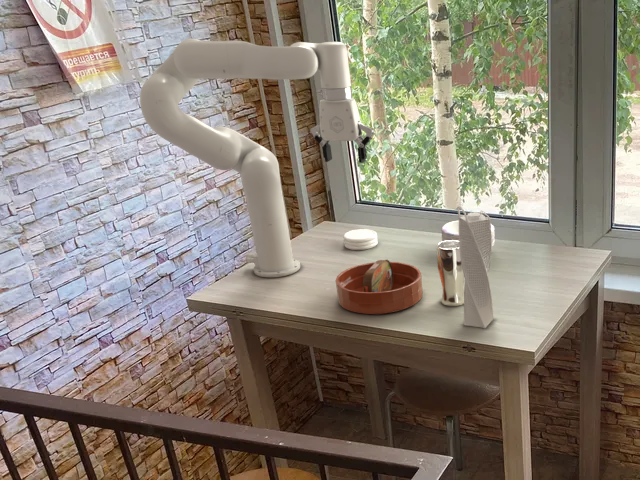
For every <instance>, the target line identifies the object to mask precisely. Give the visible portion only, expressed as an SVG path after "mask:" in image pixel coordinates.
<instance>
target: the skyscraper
mask: <svg viewBox="0 0 640 480" xmlns="http://www.w3.org/2000/svg"><path fill="white" fill-rule="evenodd" d="M456 209H457V216H458V220H459V249H460V258H461V264H462V269H463V274H464V304H463V326H468V327H475V328H483V329H487V327H488V326H489V324H491V323H492V322H493V321H494V319H495V318H494V317H495V316H494V308H493V298H492V297H493V296H492V289H491V284H490V279H489V272H490V267H491V261H492V260H491V259H492V251H493V249H492V248H493V246H492V234H491V224H492V222H491V217H490V216H489V215H488V214H487V213H486V212H485V211H484V210H480V211H479V212H477V211H473V212H469V213H466V211H465V210H464V208H463V207H461V206H460V205H457V207H456ZM461 211H462V213H463V215H461Z"/></svg>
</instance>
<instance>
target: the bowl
mask: <svg viewBox="0 0 640 480" xmlns="http://www.w3.org/2000/svg"><path fill="white" fill-rule="evenodd" d="M375 262H376V261H374V262H368V263H362V264H358V265H355V266H352V267H350V268H346V269H345V270H343V271H341V272H340V273H338V275H337V276H336V278H335V287H336V294H337V301H338V303H339V306H341V307H342V308H343V309H345V310H347V311H349V312H354V313H358V314H362V315H363V314H364V315H385V314H391V313H396V312H399V311H403V310H406V309H408V308H410V307H412V306H415V304H417V303H419V302H420V300H421V299H422V298H423V293H424V291H423V281H422V272H421V270H420V269H419V268H418V267H416V266H414V265H411V264H408V263H404V262H399V261H390V263H391V265H392V269H393V286H392V289H391V291H384V292H364V288H363V278H364V275H365V273H366V272H367V271H368V269H369V268H370V267H371V266H372V265H373V264H374V263H375Z"/></svg>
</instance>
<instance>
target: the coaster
mask: <svg viewBox="0 0 640 480" xmlns="http://www.w3.org/2000/svg"><path fill="white" fill-rule="evenodd" d="M378 243H379V240H378V233H377V232H376V231H375V230H373V229H370V228H369V229H368V228H361V229H360V228H359V229H358V228H357V229H352V230H349V231H347V232H345V233H344V234H343V245H344V247H345V248H346V249H348V250H352V251H364V250H370V249H372V248H375V247H377V245H378Z"/></svg>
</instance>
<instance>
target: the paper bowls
mask: <svg viewBox="0 0 640 480" xmlns="http://www.w3.org/2000/svg"><path fill="white" fill-rule="evenodd" d="M440 231H441V242H443V241H448V240H456V241H459V219H458V220H453V221H449V222H447V223H445V224H443V225H442V227H441V230H440ZM491 234H492V247H494V245H495V239H496V238H495V237H496V236H495V226H494V225H493V224H492V223H491Z"/></svg>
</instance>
